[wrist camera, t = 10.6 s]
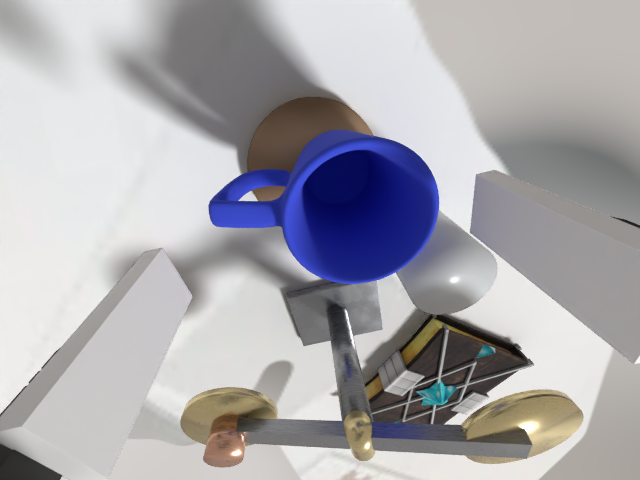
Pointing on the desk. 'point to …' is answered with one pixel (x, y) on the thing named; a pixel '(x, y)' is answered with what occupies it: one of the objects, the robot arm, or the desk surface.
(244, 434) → the balance
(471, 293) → the white cylinder
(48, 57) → the desk surface
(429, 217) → the mug
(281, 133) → the dish
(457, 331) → the book
